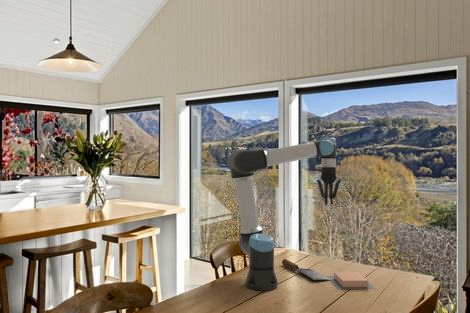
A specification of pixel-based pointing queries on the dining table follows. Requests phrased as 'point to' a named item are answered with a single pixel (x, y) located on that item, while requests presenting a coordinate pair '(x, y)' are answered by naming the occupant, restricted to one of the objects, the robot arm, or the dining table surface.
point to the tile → (351, 279)
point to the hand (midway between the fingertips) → (328, 210)
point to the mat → (346, 288)
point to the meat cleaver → (305, 271)
